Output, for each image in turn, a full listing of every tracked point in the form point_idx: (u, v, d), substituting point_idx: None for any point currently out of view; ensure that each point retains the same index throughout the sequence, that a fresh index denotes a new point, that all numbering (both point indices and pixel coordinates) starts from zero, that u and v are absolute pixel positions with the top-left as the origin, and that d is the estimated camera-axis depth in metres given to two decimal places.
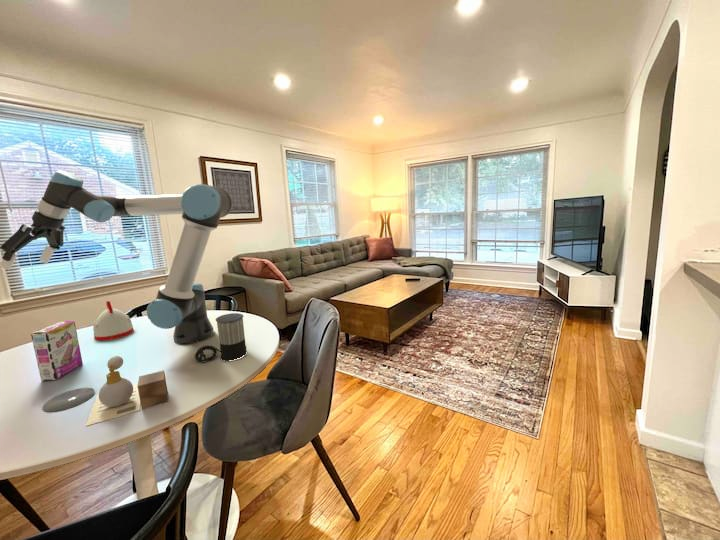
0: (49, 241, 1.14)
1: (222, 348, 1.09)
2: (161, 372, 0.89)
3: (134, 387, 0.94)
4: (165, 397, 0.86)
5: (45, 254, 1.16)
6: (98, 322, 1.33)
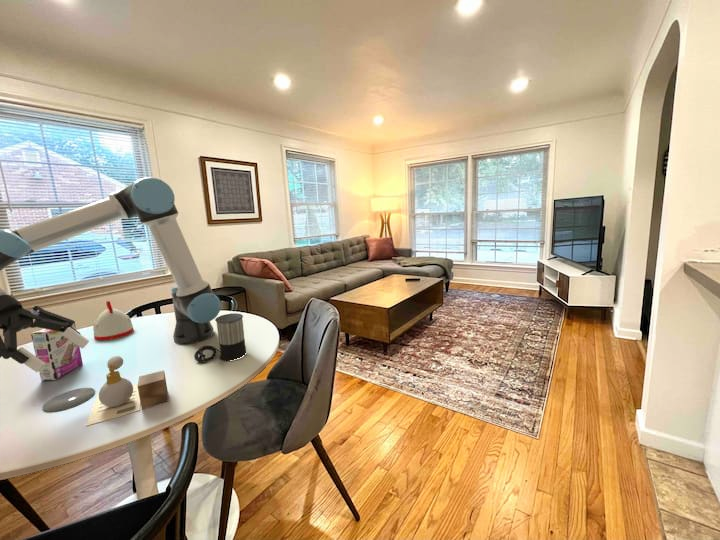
0: (53, 327, 0.87)
1: (222, 348, 1.09)
2: (161, 372, 0.89)
3: (134, 387, 0.94)
4: (165, 397, 0.86)
5: (74, 338, 0.89)
6: (98, 322, 1.33)
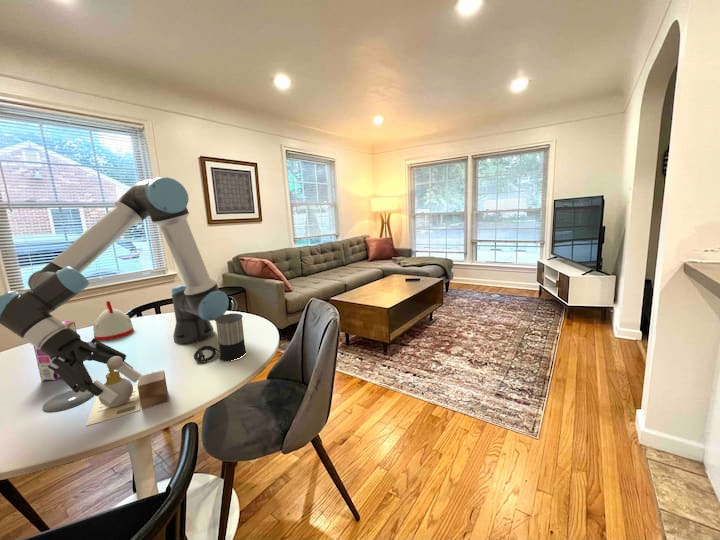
0: None
1: (221, 348, 1.09)
2: (161, 372, 0.89)
3: (134, 387, 0.94)
4: (165, 397, 0.86)
5: (128, 373, 0.90)
6: (98, 322, 1.33)
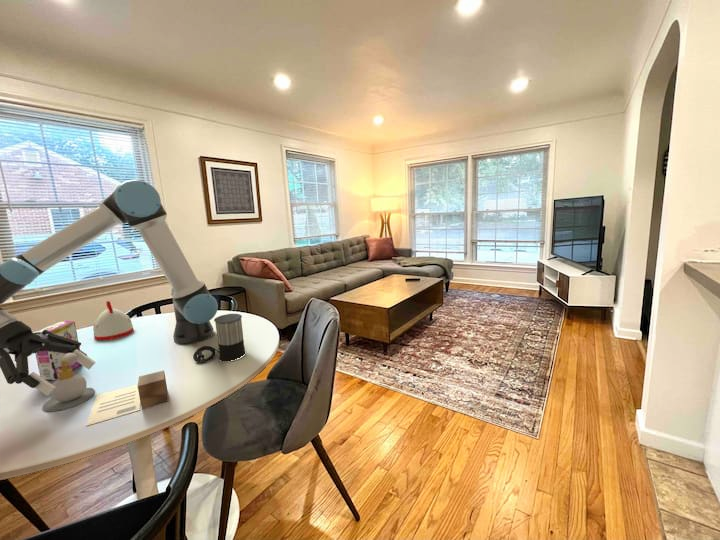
0: (61, 350, 0.92)
1: (220, 349, 1.09)
2: (161, 372, 0.89)
3: (134, 387, 0.94)
4: (165, 397, 0.86)
5: (81, 360, 0.94)
6: (98, 322, 1.33)
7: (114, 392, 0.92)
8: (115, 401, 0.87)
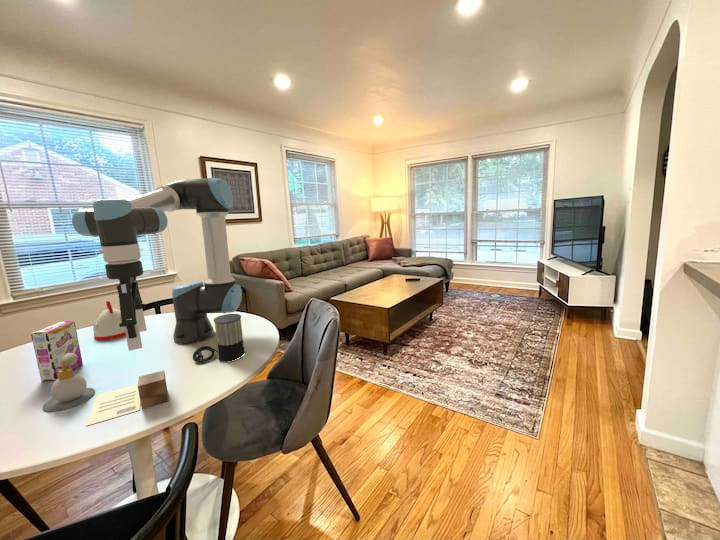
0: None
1: (220, 349, 1.08)
2: (161, 372, 0.89)
3: (134, 387, 0.94)
4: (165, 397, 0.86)
5: (138, 321, 0.88)
6: (98, 322, 1.33)
7: (114, 392, 0.92)
8: (115, 401, 0.87)
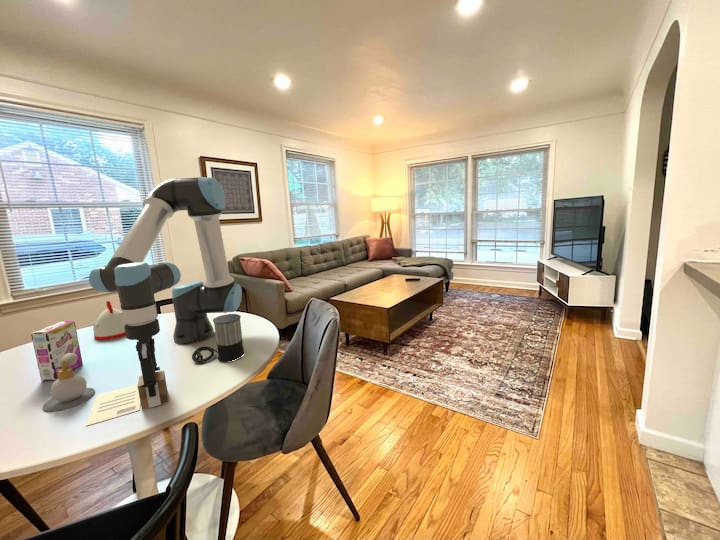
0: None
1: (219, 349, 1.08)
2: (161, 372, 0.89)
3: (134, 387, 0.94)
4: (165, 397, 0.86)
5: None
6: (98, 322, 1.33)
7: (114, 392, 0.92)
8: (115, 401, 0.87)
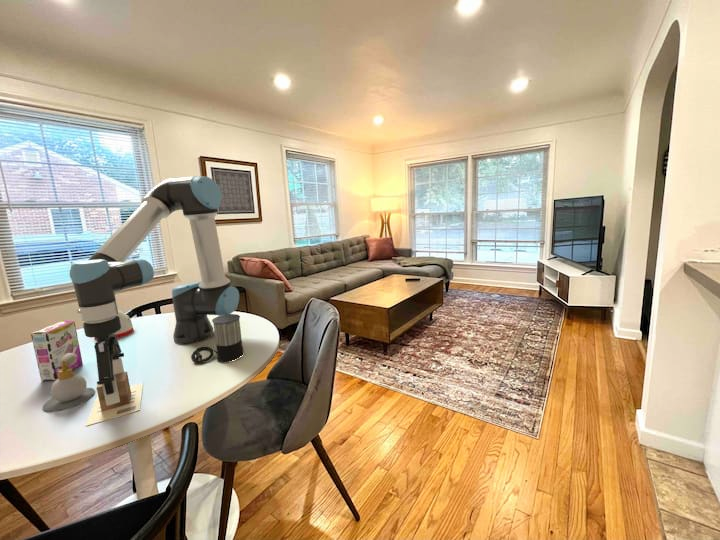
0: None
1: (218, 349, 1.08)
2: (123, 373, 0.88)
3: (134, 387, 0.94)
4: (126, 398, 0.85)
5: (116, 370, 0.91)
6: None
7: None
8: None
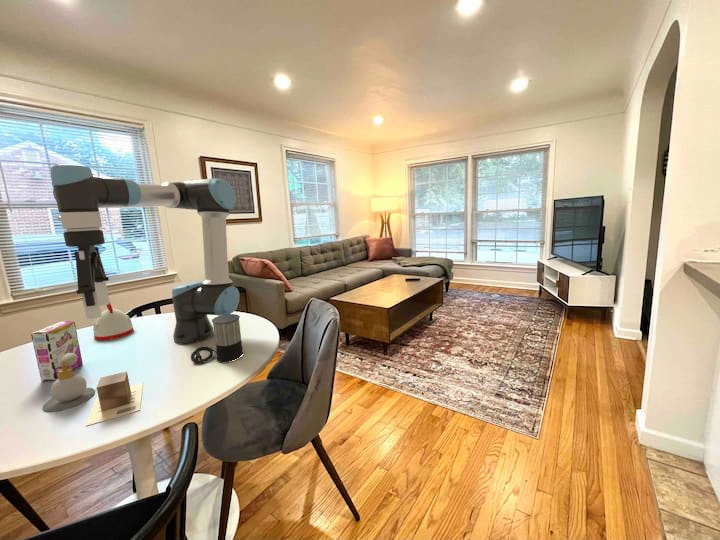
0: (95, 274, 0.85)
1: (218, 349, 1.08)
2: (123, 373, 0.88)
3: (134, 387, 0.94)
4: (126, 398, 0.85)
5: (100, 294, 0.87)
6: (98, 322, 1.33)
7: None
8: None
